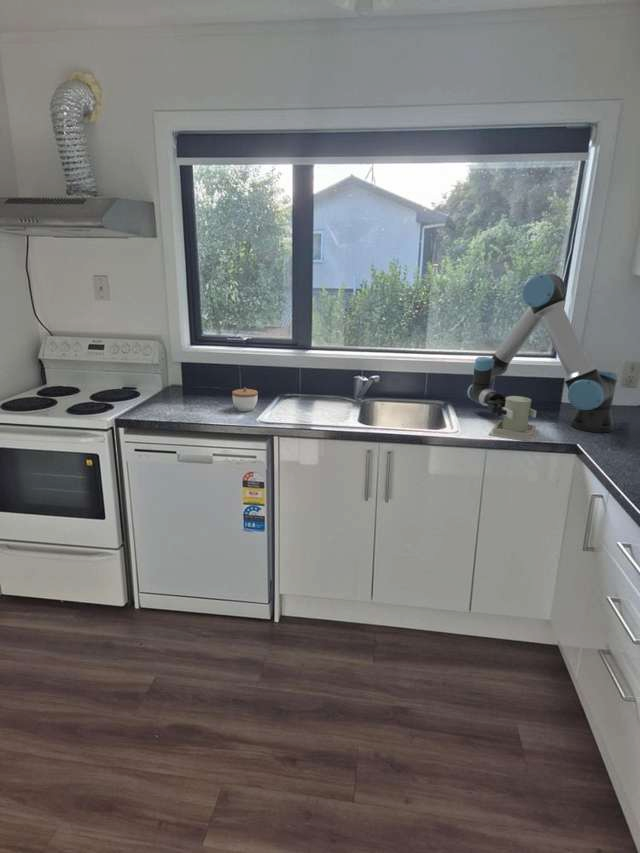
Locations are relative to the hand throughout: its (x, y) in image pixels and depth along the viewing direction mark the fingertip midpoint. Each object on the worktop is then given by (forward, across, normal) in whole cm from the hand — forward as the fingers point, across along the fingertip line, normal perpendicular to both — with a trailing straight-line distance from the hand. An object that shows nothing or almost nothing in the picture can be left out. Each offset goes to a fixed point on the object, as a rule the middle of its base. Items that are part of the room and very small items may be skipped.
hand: (523, 414), depth 199 cm
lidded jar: (-53, +98, -9) cm, 112 cm away
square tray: (-4, 0, -8) cm, 10 cm away
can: (-5, 0, -7) cm, 8 cm away
